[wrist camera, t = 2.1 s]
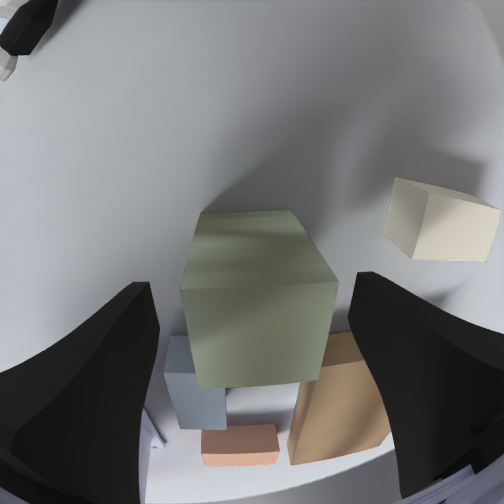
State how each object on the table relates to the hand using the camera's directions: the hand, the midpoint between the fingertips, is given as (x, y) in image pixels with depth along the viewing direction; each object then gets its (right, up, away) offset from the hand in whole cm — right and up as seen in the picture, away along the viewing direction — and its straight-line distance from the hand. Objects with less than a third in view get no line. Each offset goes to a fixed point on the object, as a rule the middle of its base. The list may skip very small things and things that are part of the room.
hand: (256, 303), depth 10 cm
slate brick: (-3, -6, +7) cm, 10 cm away
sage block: (0, +2, +4) cm, 4 cm away
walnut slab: (+8, -10, +10) cm, 16 cm away
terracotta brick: (-1, -14, +11) cm, 18 cm away
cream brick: (+10, +4, +4) cm, 11 cm away
